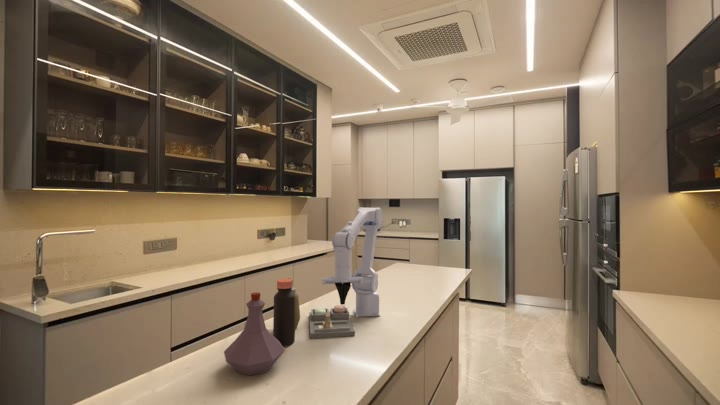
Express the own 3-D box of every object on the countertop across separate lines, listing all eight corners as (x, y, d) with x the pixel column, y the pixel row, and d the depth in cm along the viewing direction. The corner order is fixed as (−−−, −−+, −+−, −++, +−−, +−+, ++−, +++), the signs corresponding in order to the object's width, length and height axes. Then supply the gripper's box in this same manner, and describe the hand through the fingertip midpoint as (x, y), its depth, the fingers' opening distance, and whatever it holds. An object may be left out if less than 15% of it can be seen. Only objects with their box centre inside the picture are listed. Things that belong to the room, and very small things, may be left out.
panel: (346, 314, 133) (346, 305, 133) (354, 335, 111) (354, 325, 111) (309, 316, 131) (309, 307, 131) (310, 338, 109) (310, 327, 109)
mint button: (325, 313, 128) (325, 308, 128) (326, 317, 124) (326, 312, 124) (314, 314, 127) (314, 308, 127) (314, 317, 123) (314, 312, 123)
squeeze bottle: (304, 326, 119) (305, 277, 120) (291, 334, 112) (291, 281, 112) (286, 322, 123) (287, 275, 123) (272, 330, 116) (273, 279, 116)
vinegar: (268, 344, 103) (269, 281, 104) (281, 336, 110) (281, 277, 110) (287, 348, 101) (288, 283, 101) (298, 339, 108) (299, 279, 108)
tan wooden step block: (331, 323, 118) (331, 312, 118) (332, 328, 113) (332, 316, 113) (322, 324, 117) (323, 312, 117) (323, 329, 112) (323, 317, 112)
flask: (262, 348, 101) (263, 283, 101) (297, 365, 91) (298, 293, 91) (210, 368, 88) (211, 294, 89) (243, 390, 78) (245, 306, 78)
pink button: (344, 310, 129) (344, 305, 129) (345, 313, 125) (346, 308, 125) (333, 310, 128) (333, 305, 128) (334, 314, 124) (334, 309, 124)
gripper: (323, 268, 111) (322, 308, 111) (364, 267, 114) (364, 306, 114) (322, 264, 118) (321, 301, 118) (361, 263, 121) (360, 300, 121)
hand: (342, 303), depth 117 cm, fingers closed
